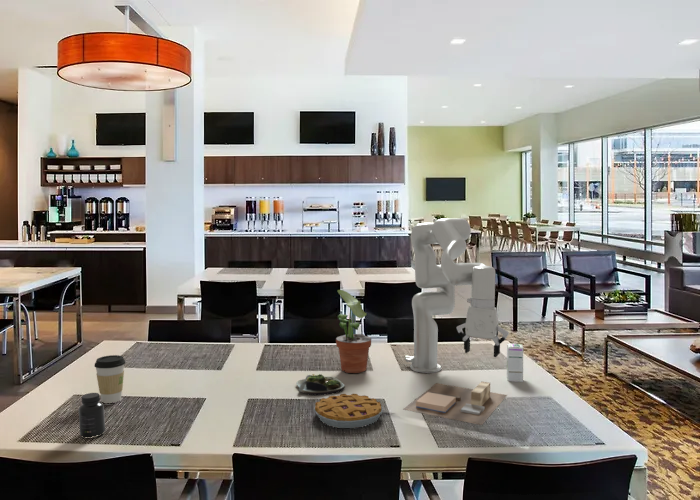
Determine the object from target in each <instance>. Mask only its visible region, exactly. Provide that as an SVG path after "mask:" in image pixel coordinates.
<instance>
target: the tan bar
mask: <svg viewBox="0 0 700 500" xmlns="http://www.w3.org/2000/svg"><path fill="white" fill-rule="evenodd" d="M473 389H474V390H473V391H472V392H471V404H467V403H466V405H465V406H464V407H463V408H462V409H461V412H465V413H470V414H475V415H480V414H481V413H482V411H483V410H484V409H485V407H484V406H482V405H483V404H484V403H485V402H486V401H487V400H488V399H489V398H490V392H491V382H487V381H481V382H479V384H477V386H476V387H474V388H473Z"/></svg>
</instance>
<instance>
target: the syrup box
mask: <svg viewBox="0 0 700 500" xmlns="http://www.w3.org/2000/svg"><path fill="white" fill-rule="evenodd" d="M506 379H507V382H520V383H523V382H524V346H523V344H522V343H507V344H506Z"/></svg>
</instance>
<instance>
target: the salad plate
mask: <svg viewBox="0 0 700 500" xmlns="http://www.w3.org/2000/svg"><path fill="white" fill-rule="evenodd" d="M325 381H328V382H325ZM296 386H297V388H298V392H301V393H303V394H304V393H305V395H308V394H309V395H308V396H324V394H326V395H333V394H332V393H334V394H338V393H340V391H341V392H342V391H343V390H344V389H345V386H346V385H345V384H344V383H343V381H341V380H340V379H338V378H337V377H335V376H324V375H323V374H322V373H321V374H320V373H319V374H314V373H312V374H307V375H306V376H305V378H302V379H300V380H298V381H296Z"/></svg>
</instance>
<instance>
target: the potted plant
mask: <svg viewBox="0 0 700 500" xmlns="http://www.w3.org/2000/svg"><path fill="white" fill-rule="evenodd" d="M337 293H338V295H340V297H341V298H342V299H343V301H344V302H345V303H346V306H347V308H350V310H349V315H347V314H345V313H343V314H341V313H340V314H337V319H338V321H339V324H338V325H339V327H340V328H341V329H342V330H344V333H345V334H343V335H340V336H337V337H335V343H336V344H335V345H336V347H337V348H338V352H339V353H338V354H339V361H340V366H341V368H340V369H341V371H342V372H345V373H347V374H348V373H349V374H358V373H359V374H360V373H364V372H366V370H367V367H368V359H369V351H370V348H371V346H372V337H371V336H367V335H365V334H363V333H355V334H354V330H355V331H356V330H359V327H360V322H356V321H355V317H357V318H359V319H363V318H365V317H366V316H367V312H365V311H364V309H363V308H362V303H361V300H358V299H357V298H356V297H354V296H353V295H352V294H351V293H349V292H348V291H345V290H344V289H343V290H342V289H337ZM348 316H349V317H348ZM347 323H348V324H347ZM347 325H348V327H347Z"/></svg>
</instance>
